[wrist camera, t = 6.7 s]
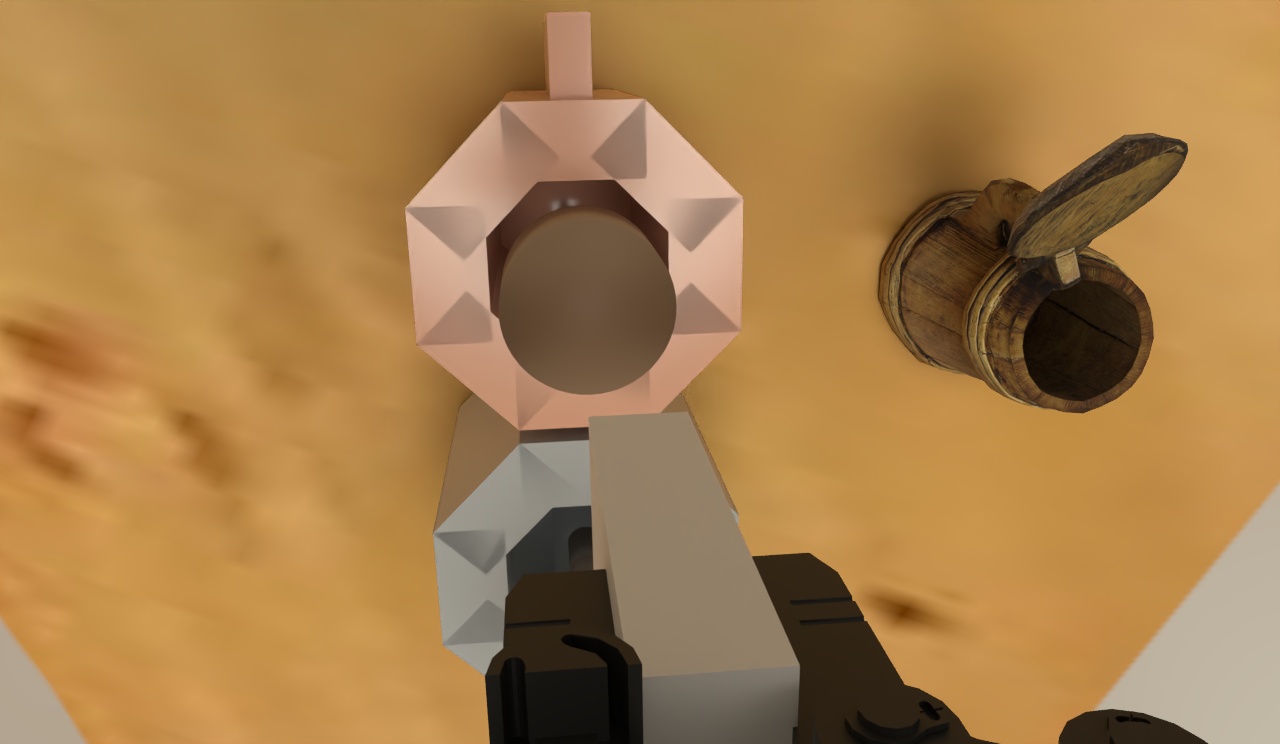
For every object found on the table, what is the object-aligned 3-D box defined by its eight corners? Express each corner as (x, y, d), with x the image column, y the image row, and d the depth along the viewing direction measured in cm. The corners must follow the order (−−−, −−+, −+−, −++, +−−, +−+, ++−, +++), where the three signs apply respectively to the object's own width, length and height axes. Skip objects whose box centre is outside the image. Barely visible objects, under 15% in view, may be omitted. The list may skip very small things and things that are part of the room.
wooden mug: (1000, 71, 46) (1275, 75, 29) (1071, 326, 51) (1346, 460, 33) (825, 147, 47) (997, 195, 29) (910, 395, 51) (1102, 562, 34)
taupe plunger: (506, 165, 42) (492, 224, 27) (623, 162, 43) (675, 218, 27) (513, 281, 44) (503, 398, 28) (626, 276, 44) (676, 390, 29)
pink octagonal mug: (431, 27, 43) (387, 11, 30) (681, 24, 44) (746, 7, 31) (454, 331, 47) (424, 435, 34) (682, 321, 48) (740, 419, 35)
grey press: (454, 340, 47) (425, 448, 34) (682, 331, 48) (740, 431, 35) (473, 594, 51) (453, 778, 38) (683, 580, 53) (735, 754, 39)
